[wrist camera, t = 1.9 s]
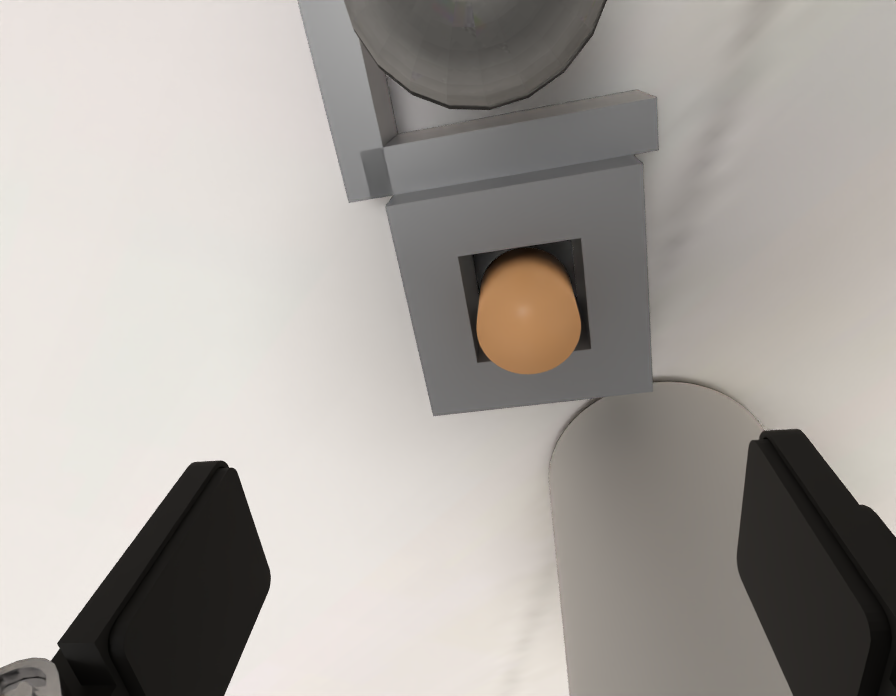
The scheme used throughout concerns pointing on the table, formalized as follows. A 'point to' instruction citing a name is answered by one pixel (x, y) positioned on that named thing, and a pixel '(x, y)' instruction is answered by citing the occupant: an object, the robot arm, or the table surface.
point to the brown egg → (527, 312)
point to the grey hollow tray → (499, 219)
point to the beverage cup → (474, 45)
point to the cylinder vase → (657, 548)
